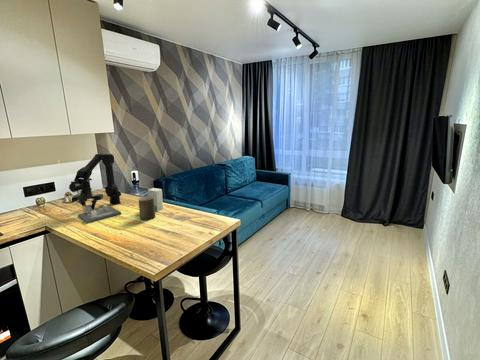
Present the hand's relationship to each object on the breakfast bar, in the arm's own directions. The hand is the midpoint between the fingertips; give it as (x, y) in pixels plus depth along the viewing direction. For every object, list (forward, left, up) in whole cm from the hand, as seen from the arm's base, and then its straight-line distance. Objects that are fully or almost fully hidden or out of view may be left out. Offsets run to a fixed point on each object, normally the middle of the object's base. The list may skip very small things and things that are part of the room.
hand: (89, 209), depth 182 cm
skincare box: (-36, +25, -4) cm, 45 cm away
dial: (0, 0, -2) cm, 2 cm away
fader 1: (+1, +12, -2) cm, 12 cm away
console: (-4, +6, -4) cm, 9 cm away
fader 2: (-9, +5, -2) cm, 10 cm away
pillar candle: (-24, +35, -4) cm, 43 cm away
